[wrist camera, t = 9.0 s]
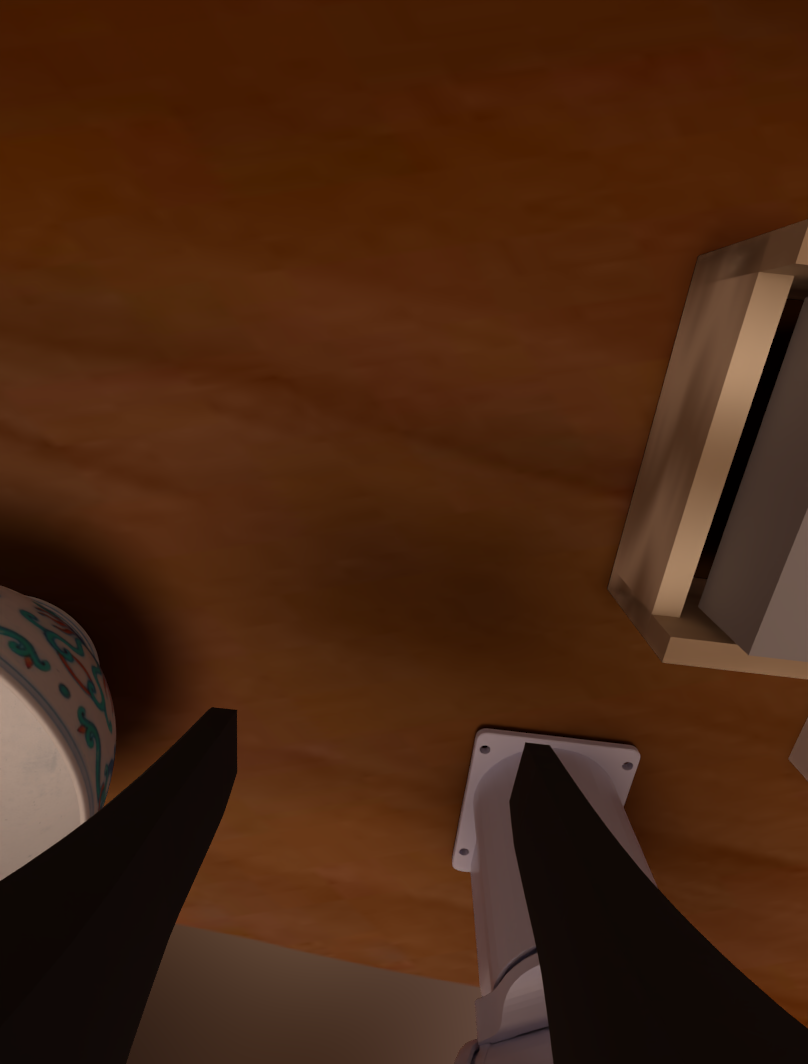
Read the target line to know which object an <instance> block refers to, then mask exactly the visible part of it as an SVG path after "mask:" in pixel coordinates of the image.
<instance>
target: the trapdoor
mask: <svg viewBox="0 0 808 1064" xmlns="http://www.w3.org/2000/svg"><path fill="white" fill-rule="evenodd" d="M698 607H699V608H700V609H701V610H702V611H703V612H704V613H705V614H706V615H707V616H708V617H709V618H710V619H711V620H712V621H713V622H714V623H715V624H716V625H717V626H718V627H720V628H721V629H722V630H723V631H724V632H725V633H726V634H727V635H728V636H729V637H730V638H731V639H732V640H733V641H734V642H735V643H736V644H737V645H738V646H739V647H740V648H741V649H742V650H743V651H745V652H746V653H747V654H748V655H750V656H758V657H767V658H776V659H785V660H793V661H802V662H808V297H805V300H804V303H803V306H802V308H801V311H800V314H799V317H798V320H797V323H796V326H795V329H794V331H793V334H792V337H791V340H790V343H789V346H788V349H787V352H786V354H785V357H784V360H783V363H782V366H781V369H780V372H779V375H778V378H777V380H776V383H775V386H774V389H773V392H772V395H771V398H770V401H769V403H768V406H767V409H766V412H765V415H764V418H763V421H762V424H761V426H760V429H759V432H758V435H757V438H756V441H755V444H754V447H753V450H752V452H751V455H750V458H749V461H748V464H747V467H746V470H745V473H744V475H743V478H742V481H741V484H740V487H739V490H738V493H737V496H736V498H735V501H734V504H733V507H732V510H731V513H730V516H729V519H728V521H727V524H726V527H725V530H724V533H723V536H722V539H721V542H720V545H719V547H718V550H717V553H716V556H715V559H714V562H713V565H712V568H711V570H710V573H709V576H708V579H707V582H706V585H705V588H704V591H703V593H702V596H701V599H700V602H699V605H698Z"/></svg>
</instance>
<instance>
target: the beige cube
mask: <svg viewBox="0 0 808 1064" xmlns="http://www.w3.org/2000/svg"><path fill="white" fill-rule="evenodd" d="M788 759H789V760H790V762H791V763H792V764H793V765H794V766H795V767H796V768H797V769H798V771H799V772H800V773H801V774H802V775H803V776H804V777H805V779H806V780H807V781H808V718H807V720H806V722H805V724H804V726H803V728H802V730H801V733H800V735H799V737H798V739H797V741H796V743H795V745H794V748H793V750H792V752H791V754H790V756H789V758H788Z"/></svg>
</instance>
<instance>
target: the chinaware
mask: <svg viewBox="0 0 808 1064" xmlns="http://www.w3.org/2000/svg"><path fill="white" fill-rule="evenodd" d="M115 750H116V722H115V713H114V707H113V702H112V697H111V694H110V690H109V687H108V684H107V681H106V679H105V676H104V674H103V672H102V670H101V668H100V665H99V659H98V655H97V652H96V649H95V647H94V645H93V643H92V641H91V639H90V637H89V636H88V634H87V633H86V632H85V630H84V629H83V628H82V627H81V626H80V625H79V624H78V623H77V622H76V621H75V620H74V619H73V618H72V617H71V616H70V615H68V614H67V613H66V612H64V611H63V610H61V609H60V608H58V607H56V606H54V605H52V604H50V603H48V602H46V601H44V600H41V599H38V598H35V597H31V596H26V595H23V594H21V593H19V592H16V591H14V590H12V589H9V588H7V587H4V586H1V585H0V881H1V880H2V879H4V878H5V877H7V876H8V875H10V874H11V873H13V872H15V871H16V870H18V869H19V868H21V867H22V866H24V865H25V864H27V863H28V862H30V861H31V860H32V859H34V858H35V857H37V856H38V855H40V854H41V853H43V852H44V851H45V850H47V849H48V848H50V847H51V846H53V845H54V844H55V843H57V842H58V841H60V840H61V839H63V838H64V837H65V836H67V835H68V834H69V833H71V832H72V831H73V830H75V829H76V828H77V827H79V826H80V825H81V824H83V823H84V822H85V821H87V820H88V819H89V818H90V817H92V816H93V815H94V814H95V813H97V812H98V811H99V810H100V809H102V808H103V805H104V802H105V799H106V796H107V793H108V789H109V785H110V781H111V776H112V771H113V766H114V759H115Z"/></svg>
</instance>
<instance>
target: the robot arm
mask: <svg viewBox="0 0 808 1064" xmlns="http://www.w3.org/2000/svg"><path fill="white" fill-rule="evenodd" d="M485 745H486V746H488V747H487V748H482V746H485ZM639 761H640V754H639V752H638V750H637V748H636V747H635V746H632V745H627V744H618V743H609V742H601V741H592V740H584V739H575V738H566V737H558V736H549V735H541V734H532V733H523V732H515V731H506V730H497V729H489V728H484V729H481V730H479V731H478V732H477V734H476V737H475V742H474V747H473V752H472V757H471V763H470V768H469V773H468V778H467V783H466V788H465V793H464V799H463V804H462V809H461V814H460V819H459V824H458V830H457V835H456V840H455V845H454V850H453V855H452V866H453V867H454V868H455V869H456V870H459V871H465V872H471V883H472V895H473V907H474V919H475V931H476V944H477V956H478V968H479V980H480V988H481V994H482V997H481V998H478V999H476V1000H475V1010H476V1025H477V1039H475V1040H472V1041H469V1042H467V1043H466V1044H465V1045H464V1046H463V1047H462V1048H461V1049H460V1050H459V1053H458V1055H457V1057H456V1059H455V1062H454V1064H808V1029H807V1028H806V1027H805V1026H804V1025H802V1024H801V1023H800V1022H799V1021H797V1020H796V1019H795V1018H794V1017H792V1016H791V1015H790V1014H789V1013H788V1012H786V1011H785V1010H784V1009H783V1008H782V1007H780V1006H779V1005H778V1004H777V1003H776V1002H775V1001H774V1000H772V999H771V998H770V997H769V996H768V995H767V994H766V993H764V992H763V991H762V990H761V989H760V988H759V987H758V986H756V985H755V984H754V983H753V982H752V981H751V980H750V979H748V978H747V977H746V976H745V975H744V974H743V973H742V972H741V971H740V970H739V969H737V968H736V967H735V966H734V965H733V964H732V963H731V962H730V961H729V960H728V959H727V958H725V957H724V956H723V955H722V954H721V953H720V952H719V951H718V950H717V949H716V948H715V947H714V946H713V945H712V944H711V943H710V942H709V941H708V940H707V939H706V938H705V937H704V936H703V935H702V934H701V933H700V932H699V931H698V930H697V929H696V928H695V927H694V926H693V925H692V924H691V923H690V922H689V921H688V920H687V919H686V918H685V917H684V916H683V915H682V914H681V913H680V912H679V911H678V910H677V909H676V908H675V907H674V906H673V905H672V903H671V902H670V901H669V900H668V899H667V898H666V897H665V896H664V895H663V894H662V893H661V891H660V890H659V889H658V887H657V885H656V882H655V880H654V878H653V875H652V873H651V871H650V868H649V866H648V864H647V861H646V859H645V857H644V854H643V852H642V850H641V847H640V845H639V842H638V840H637V838H636V835H635V833H634V831H633V828H632V826H631V824H630V821H629V819H628V817H627V814H626V812H625V810H624V804H625V802H626V799H627V796H628V793H629V790H630V787H631V784H632V781H633V778H634V775H635V772H636V769H637V767H638V764H639ZM626 762H629V763H627V764H624V763H626ZM236 774H237V710H231V709H222V708H214V707H212V708H211V709H209V710H208V711H207V712H206V713H205V714H204V715H203V716H202V717H201V718H200V719H199V720H198V721H197V722H196V723H195V724H194V725H193V726H192V727H191V728H190V729H189V730H188V731H187V732H186V733H185V734H184V735H183V736H182V737H181V738H180V739H179V740H178V741H177V742H176V743H175V744H174V745H173V746H172V747H171V748H170V749H169V750H168V751H167V752H165V753H164V754H163V755H162V756H161V757H160V758H159V759H158V760H157V761H156V762H155V763H154V764H153V765H152V766H150V767H149V768H148V769H147V770H146V771H145V772H144V773H143V774H142V775H141V776H139V777H138V778H137V779H136V780H135V781H134V782H133V783H131V784H130V785H129V786H128V787H127V788H126V789H124V790H123V791H122V792H121V793H120V794H118V795H117V796H116V797H115V798H114V799H113V800H111V801H110V802H109V803H108V804H107V805H105V806H104V807H103V808H102V809H100V810H99V811H98V812H97V813H95V814H94V815H93V816H92V817H90V818H89V819H88V820H87V821H85V822H84V823H83V824H81V825H80V826H79V827H77V828H76V829H75V830H73V831H72V832H71V833H69V834H68V835H67V836H65V837H64V838H63V839H61V840H60V841H58V842H57V843H55V844H54V845H53V846H51V847H50V848H48V849H47V850H45V851H44V852H43V853H41V854H40V855H38V856H37V857H35V858H34V859H32V860H31V861H30V862H28V863H27V864H25V865H24V866H22V867H21V868H19V869H18V870H16V871H15V872H13V873H11V874H10V875H8V876H7V877H5V878H4V879H2V880H1V881H0V1064H126V1062H127V1059H128V1056H129V1053H130V1049H131V1046H132V1044H133V1041H134V1038H135V1035H136V1032H137V1029H138V1026H139V1023H140V1020H141V1017H142V1014H143V1011H144V1008H145V1005H146V1002H147V999H148V997H149V994H150V991H151V988H152V985H153V982H154V979H155V977H156V974H157V971H158V968H159V965H160V962H161V960H162V957H163V954H164V951H165V948H166V945H167V943H168V940H169V937H170V935H171V932H172V930H173V927H174V925H175V923H176V920H177V918H178V915H179V913H180V911H181V908H182V906H183V904H184V902H185V900H186V897H187V895H188V893H189V891H190V888H191V886H192V884H193V882H194V879H195V877H196V875H197V873H198V871H199V868H200V866H201V864H202V862H203V859H204V857H205V855H206V853H207V851H208V848H209V846H210V844H211V842H212V839H213V837H214V835H215V833H216V830H217V828H218V826H219V823H220V821H221V819H222V817H223V814H224V811H225V808H226V805H227V802H228V799H229V796H230V793H231V790H232V787H233V783H234V780H235V777H236ZM463 848H465V849H463Z"/></svg>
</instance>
